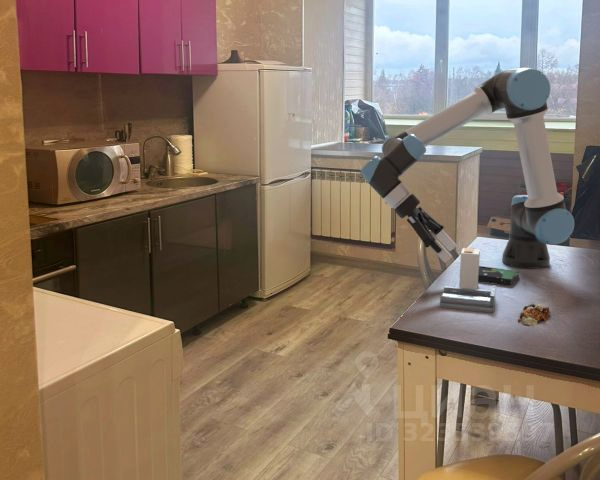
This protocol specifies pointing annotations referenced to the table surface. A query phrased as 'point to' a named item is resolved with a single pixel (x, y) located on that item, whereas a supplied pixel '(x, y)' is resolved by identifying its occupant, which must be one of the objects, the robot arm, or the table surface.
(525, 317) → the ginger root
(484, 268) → the disk drive
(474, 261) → the block
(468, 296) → the rail base
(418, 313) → the table surface
